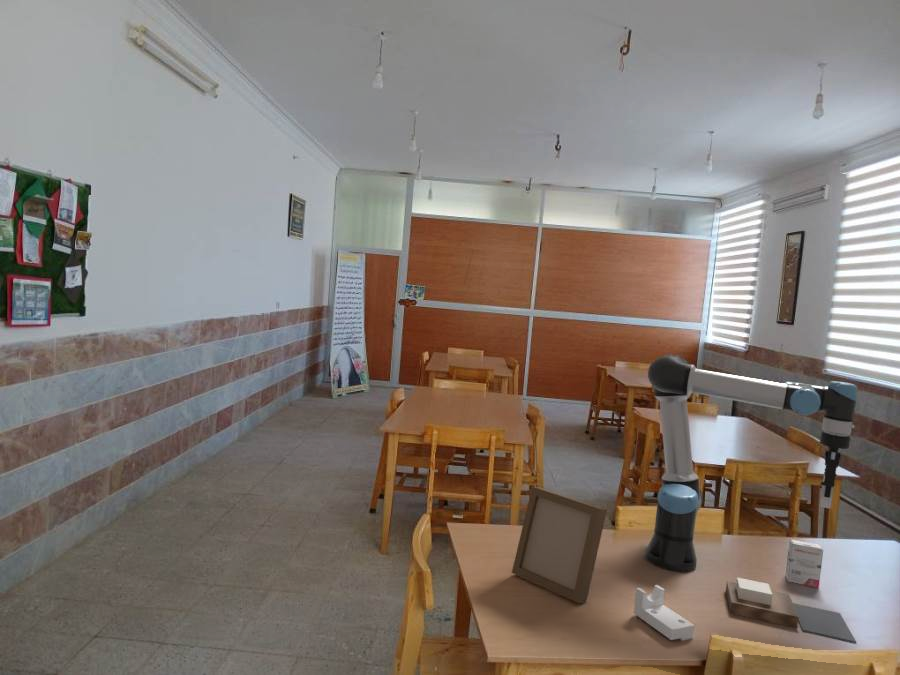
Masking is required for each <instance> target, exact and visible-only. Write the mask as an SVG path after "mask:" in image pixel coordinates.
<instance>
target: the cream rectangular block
mask: <svg viewBox="0 0 900 675" xmlns="http://www.w3.org/2000/svg"><path fill="white" fill-rule="evenodd" d="M735 583H736V591H737V595H738V598H739V599H744V600H748V601H753V602H757V603H762V604H767V605H771V602H772V592H771V591H772V589H771V586H770V584H769V583H766V582H761V581H755V580H751V579H746V578H742V577H736V582H735Z"/></svg>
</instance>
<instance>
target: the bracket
mask: <svg viewBox="0 0 900 675" xmlns="http://www.w3.org/2000/svg"><path fill="white" fill-rule="evenodd" d="M635 590H636V591H635V599H634V607H633V614H634V615H635V616H637V617H638V618H640V620H642V621H644V622H645V623H647V624H648V625H650V626H651V627H652V628H654V629H655V630H657V631H658V632H659V633H661V634H662V635H663V636H665V637H667V638H668V639H669V640H670V641H673V640H678V639H679V640H680V641H686V640H691V639H694V630H695V625H694V624H693V623H692V622H690V621H689V620H687V619H685V618H684V617H683V616H681V615H680V614H678V613H677V612H674V611H673V610H672V609H671V608H669V607H668V606H666V605H664V600H665V592H666V589H664V588H663V587H661V586H659V584H655V585H654V588H653V590H652V592H651V593H650V594H649V595H648V594H647V592H646V591H645V590H644V589H642V588H641V587H637V588H636V589H635ZM690 638H691V639H690Z"/></svg>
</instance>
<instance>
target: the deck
mask: <svg viewBox="0 0 900 675" xmlns="http://www.w3.org/2000/svg"><path fill="white" fill-rule="evenodd" d="M771 592H772V602H771V605H767V604H762V603H757V602H753V601H748V600H744V599H739V598H738V595H737V591H736V582H733V581H728V580H726V584H725V594H726V599H727V603H728V609H729V613H730V614H733V615H738V616H742V617H747V618H750V619H755V620H759V621H764V622H767V623H772V624H777V625H781V626H784V627H785V626H786V627H790V628H795V629H798V626H799V622H798V620H799V616H798V614H797V612H796V609H795V607H794V605H793V603H794V602H793V600H792V598H791V596H790V594H789V593H786V592H780V591H777V590H775V591H774V590H771Z"/></svg>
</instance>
